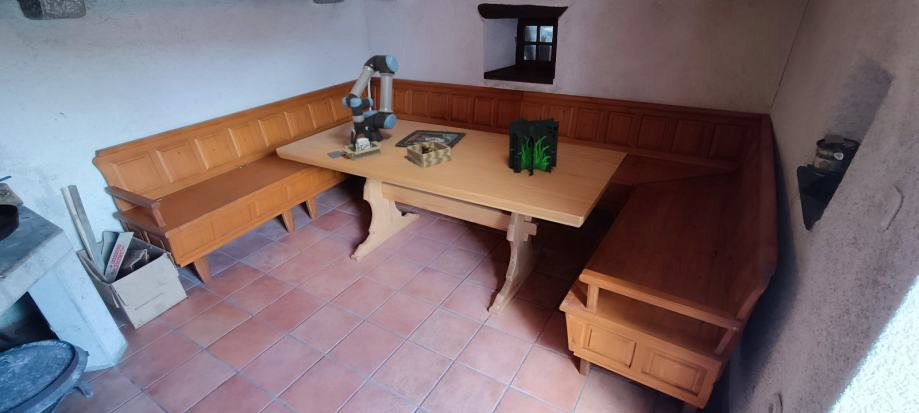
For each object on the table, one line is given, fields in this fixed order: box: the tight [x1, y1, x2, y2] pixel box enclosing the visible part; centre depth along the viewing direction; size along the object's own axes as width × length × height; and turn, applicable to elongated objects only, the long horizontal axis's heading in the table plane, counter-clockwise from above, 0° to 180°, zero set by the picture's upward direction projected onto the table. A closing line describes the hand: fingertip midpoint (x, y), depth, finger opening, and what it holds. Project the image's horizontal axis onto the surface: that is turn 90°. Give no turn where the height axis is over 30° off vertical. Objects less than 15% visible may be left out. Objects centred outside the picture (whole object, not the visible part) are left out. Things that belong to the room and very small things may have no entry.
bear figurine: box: [421, 143, 434, 154], centre depth 293 cm, size 14×15×12 cm
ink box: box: [356, 136, 369, 151], centre depth 306 cm, size 9×5×12 cm, turn 137°
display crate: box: [406, 140, 452, 169], centre depth 292 cm, size 23×22×9 cm
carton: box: [342, 141, 383, 162], centre depth 307 cm, size 26×22×6 cm
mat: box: [326, 150, 345, 159], centre depth 311 cm, size 9×12×1 cm
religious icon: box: [395, 129, 467, 149], centre depth 331 cm, size 40×45×3 cm
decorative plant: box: [508, 115, 560, 177], centre depth 267 cm, size 29×30×30 cm
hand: (363, 151), depth 307 cm, fingers closed on ink box, 9 cm apart
